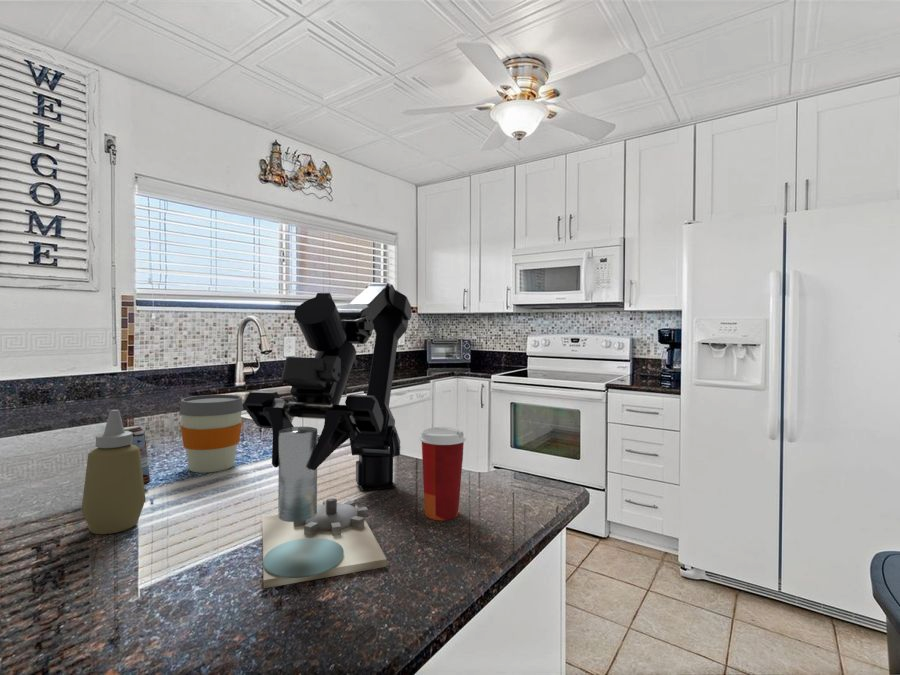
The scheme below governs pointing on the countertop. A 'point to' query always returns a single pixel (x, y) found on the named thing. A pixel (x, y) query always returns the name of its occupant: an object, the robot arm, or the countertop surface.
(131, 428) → the beverage can
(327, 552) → the board
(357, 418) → the robot arm
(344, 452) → the countertop surface
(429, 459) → the paper cup
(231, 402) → the reusable coffee cup
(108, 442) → the squeeze bottle
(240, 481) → the countertop surface
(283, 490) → the axle
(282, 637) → the countertop surface
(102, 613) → the countertop surface
